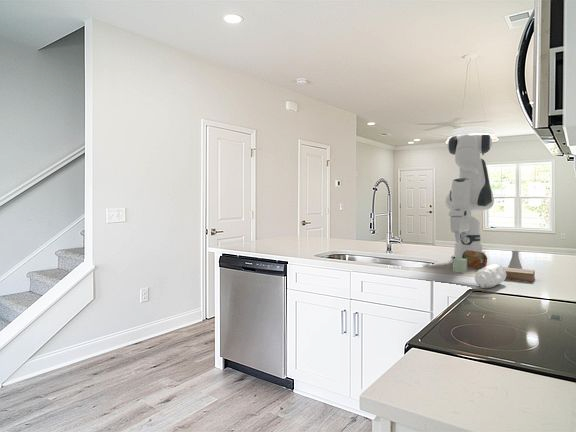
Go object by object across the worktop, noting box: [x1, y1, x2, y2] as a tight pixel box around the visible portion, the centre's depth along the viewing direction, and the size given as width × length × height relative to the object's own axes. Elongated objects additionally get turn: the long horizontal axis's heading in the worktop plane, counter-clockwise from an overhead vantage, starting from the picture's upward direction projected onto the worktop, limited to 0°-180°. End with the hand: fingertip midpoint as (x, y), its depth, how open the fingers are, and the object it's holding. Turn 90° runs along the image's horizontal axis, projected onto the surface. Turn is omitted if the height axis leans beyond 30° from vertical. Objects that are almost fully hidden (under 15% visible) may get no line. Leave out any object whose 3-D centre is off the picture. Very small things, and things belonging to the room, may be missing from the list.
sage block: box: [452, 258, 468, 274], centre depth 181 cm, size 5×5×6 cm
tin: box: [462, 250, 488, 270], centre depth 192 cm, size 15×3×8 cm, turn 14°
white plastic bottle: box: [474, 263, 506, 289], centre depth 149 cm, size 8×19×8 cm, turn 135°
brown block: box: [502, 266, 536, 283], centre depth 164 cm, size 10×12×4 cm
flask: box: [507, 249, 523, 269], centre depth 180 cm, size 7×7×10 cm
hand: (460, 241), depth 180 cm, fingers open, 8 cm apart
